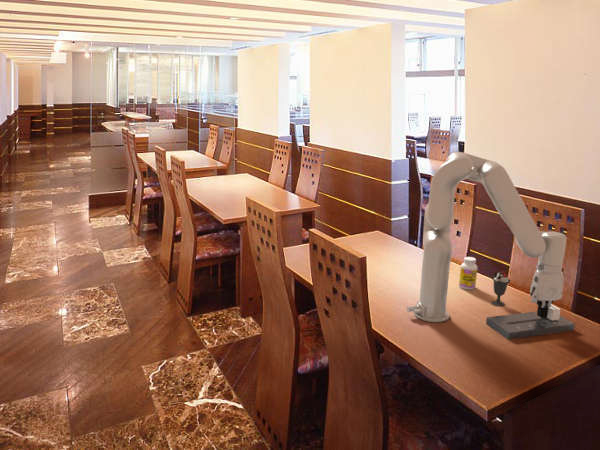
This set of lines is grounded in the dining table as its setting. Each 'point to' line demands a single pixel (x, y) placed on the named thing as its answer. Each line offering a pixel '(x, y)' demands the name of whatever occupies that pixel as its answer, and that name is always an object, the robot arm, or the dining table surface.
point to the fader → (553, 313)
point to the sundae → (500, 286)
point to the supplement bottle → (468, 273)
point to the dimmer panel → (527, 325)
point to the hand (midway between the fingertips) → (541, 316)
